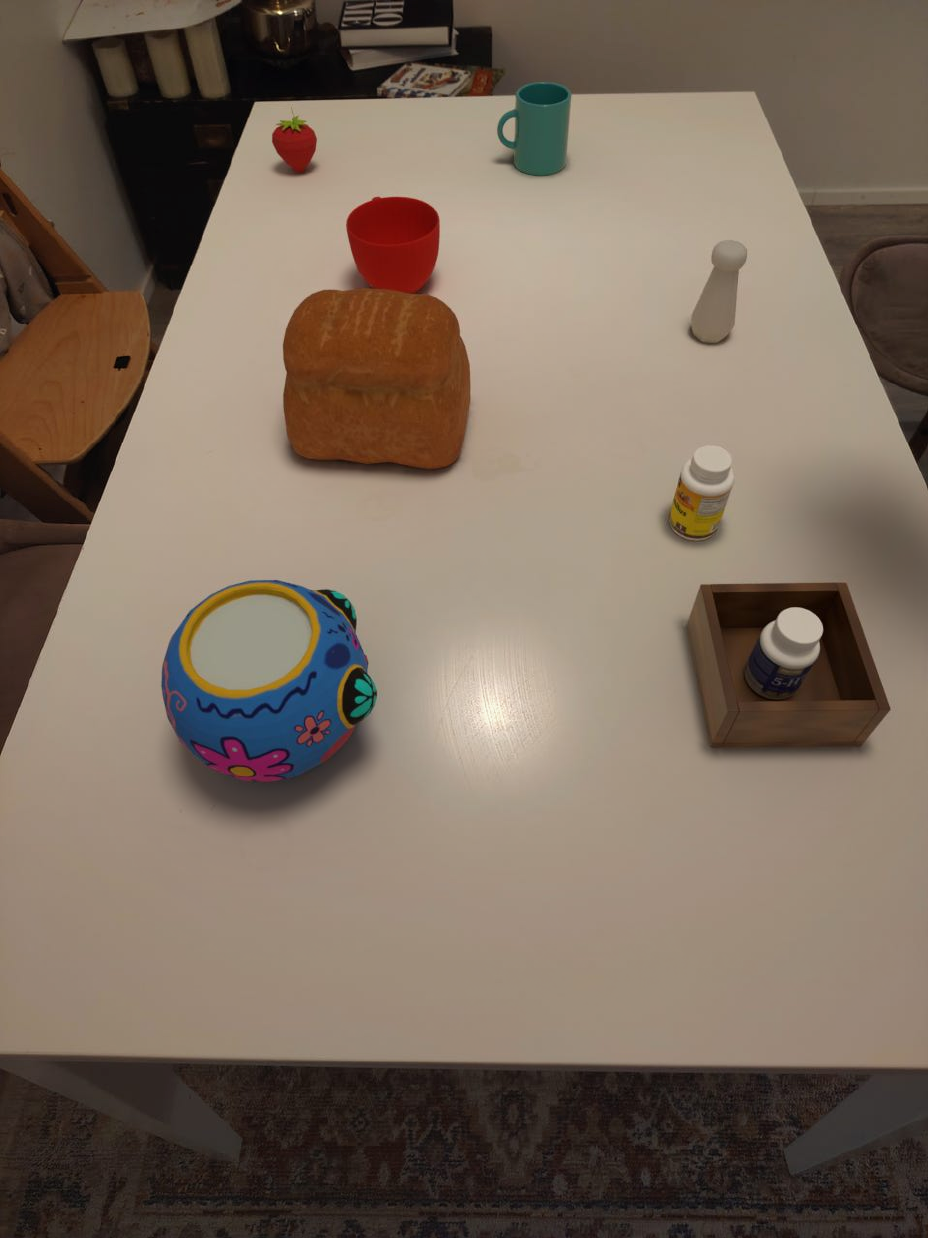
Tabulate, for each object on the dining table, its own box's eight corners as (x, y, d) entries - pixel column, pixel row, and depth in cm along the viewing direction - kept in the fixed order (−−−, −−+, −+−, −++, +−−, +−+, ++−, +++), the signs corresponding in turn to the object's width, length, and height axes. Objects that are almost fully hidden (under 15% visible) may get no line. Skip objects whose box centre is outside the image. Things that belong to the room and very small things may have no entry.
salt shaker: (699, 317, 116) (721, 228, 105) (737, 331, 114) (763, 241, 103) (680, 338, 113) (700, 248, 103) (718, 353, 111) (743, 263, 101)
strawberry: (280, 164, 144) (268, 101, 136) (323, 163, 144) (314, 101, 136) (275, 181, 141) (263, 118, 133) (319, 180, 141) (310, 117, 133)
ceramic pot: (397, 780, 75) (381, 696, 63) (202, 834, 73) (146, 758, 61) (357, 630, 85) (336, 533, 73) (183, 673, 83) (132, 580, 70)
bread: (315, 378, 110) (291, 259, 96) (475, 389, 108) (474, 269, 94) (282, 470, 99) (250, 351, 86) (458, 483, 98) (455, 364, 84)
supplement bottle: (663, 507, 95) (680, 440, 86) (711, 505, 95) (733, 438, 87) (672, 544, 92) (691, 477, 83) (722, 542, 92) (746, 475, 83)
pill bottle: (764, 709, 78) (793, 657, 71) (732, 666, 81) (757, 612, 74) (810, 689, 79) (843, 636, 72) (777, 648, 82) (805, 593, 75)
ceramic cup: (420, 242, 129) (416, 176, 121) (453, 301, 119) (451, 234, 111) (339, 257, 127) (330, 192, 118) (367, 319, 117) (358, 253, 109)
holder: (822, 624, 85) (846, 582, 79) (860, 747, 77) (891, 709, 71) (685, 626, 85) (700, 583, 79) (709, 748, 77) (728, 711, 71)
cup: (494, 154, 145) (495, 83, 136) (562, 151, 145) (568, 80, 136) (498, 179, 140) (499, 107, 131) (568, 176, 140) (574, 104, 131)
